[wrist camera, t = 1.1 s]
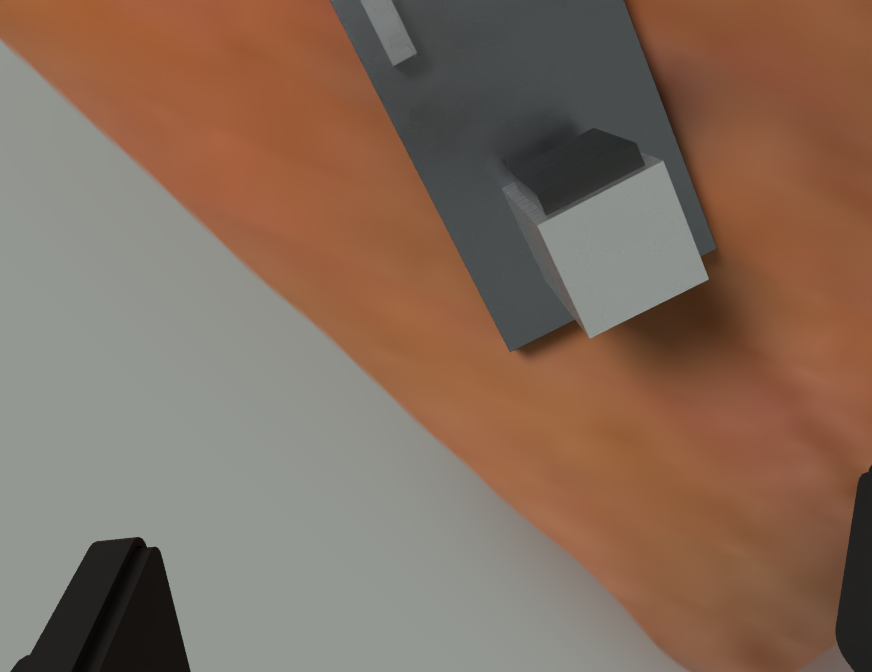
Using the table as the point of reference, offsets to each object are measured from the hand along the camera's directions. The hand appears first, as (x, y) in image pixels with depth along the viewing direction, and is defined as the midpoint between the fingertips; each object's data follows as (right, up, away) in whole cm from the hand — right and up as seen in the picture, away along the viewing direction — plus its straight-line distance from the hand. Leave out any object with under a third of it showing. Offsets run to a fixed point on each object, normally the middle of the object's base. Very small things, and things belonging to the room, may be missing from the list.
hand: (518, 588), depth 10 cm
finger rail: (+2, +14, +21) cm, 26 cm away
